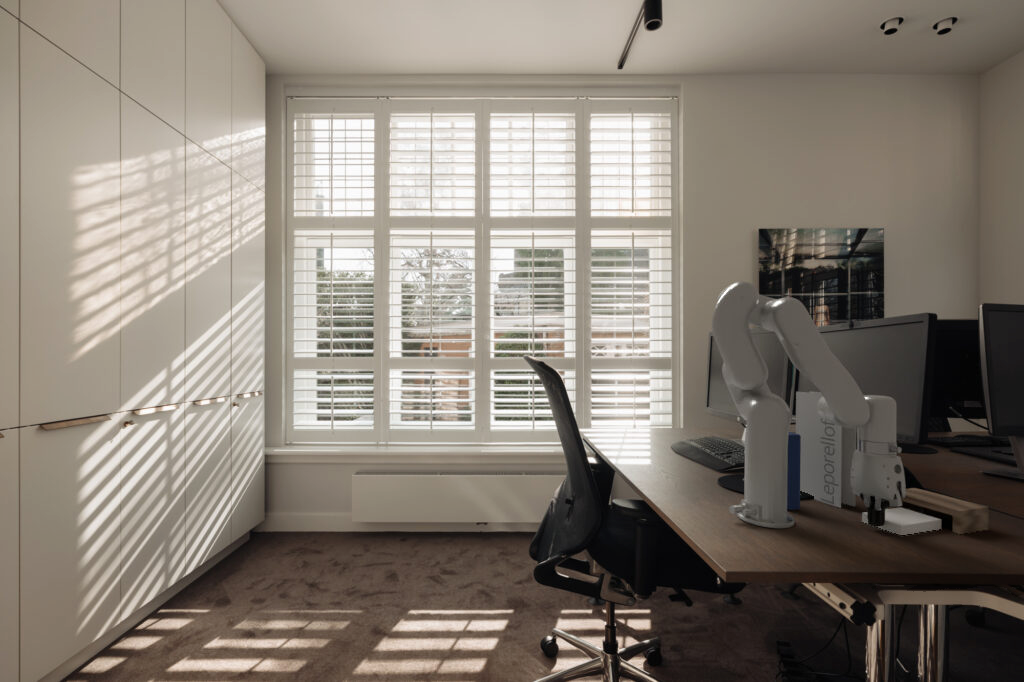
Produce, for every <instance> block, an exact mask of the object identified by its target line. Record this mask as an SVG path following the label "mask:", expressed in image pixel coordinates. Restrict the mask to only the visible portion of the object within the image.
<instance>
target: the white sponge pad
mask: <svg viewBox="0 0 1024 682" xmlns="http://www.w3.org/2000/svg"><path fill="white" fill-rule="evenodd" d="M862 522H864V523H863V524H865V523H867V524H866V525H868V518H867V511H866V512H861V523H862ZM879 528H881V529H880V530H882V529H883V530H882V531H885V530H887V531H886V532H888V531H889V532H888V533H891V532H892V533H891V534H894V533H896V534H899V535H906V536H908V535H907V534H912V535H915V534H914V533H918V534H920V533H919V532H924V533H927V532H926V531H930V532H933V531H932V530H936V531H939V529H941V530H942V518H939V517H938V518H937V517H936V516H935V517H934V516H932V515H929V514H928V515H927V514H926V513H925V514H924V513H918V512H915V511H911V510H908V509H905V508H901V507H900V508H893V509H886V510H885V523H884V526H878V528H877V529H879ZM896 534H895V535H896ZM899 535H898V536H899Z"/></svg>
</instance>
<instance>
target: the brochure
mask: <svg viewBox="0 0 1024 682" xmlns="http://www.w3.org/2000/svg"><path fill="white" fill-rule="evenodd" d="M795 392H796V393H795V395H796V396H795V399H796V400H795V434H799V435H800V436H801V461H800V491H802V492H805V493H808V494H810V495H812V496H814V499H813V500H815V501H818V502H820V503H824V504H828V505H829V506H833V507H837V508H838V507H839V509H842V505H846V504H847V505H846V506H851V507H856V495H855V494H854V493H853V492H852V490H853V488H852V486H851V467H852V460H853V455H854V452H855V450H857V428H855V429H849V428H844V427H842V426H839V425H836V424H834V423H831V422H829V421H827V420H825V419H824V418H822V417H821V416H820V414H819V413H818V410H817V403H818V401H819V399H820V398H821V397H823V395H822V394H821V392H820V391H811V390H810V391H809V392H807V391H806V392H805V391H804V392H803V391H795ZM842 503H843V504H842Z"/></svg>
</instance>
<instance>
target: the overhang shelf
mask: <svg viewBox="0 0 1024 682" xmlns="http://www.w3.org/2000/svg"><path fill="white" fill-rule="evenodd" d="M901 501H902V506H890V507H888V509H893V508H900V507H901V508H905V509H908V510H911V511H915V512H918V513H921V514H924V513H925V514H926V515H927V514H928V515H930V514H931V515H930V516H933V517H934V516H935V517H936V518H937V517H938V518H939V519H944V520H947V521H951V522H952V533H953V532H955V533H954V534H956V533H958V534H957V535H959V534H962V535H965V534H964V533H968V534H971V533H970V532H973V533H977V532H976V531H979V532H984V531H983V530H985V531H988V530H989V516H990V515H989V514H990V513H989V512H990V511H989V509H990V508H989V506H987V505H983V504H980V503H979V504H978V503H975V502H971V501H967V500H963V499H960V498H956V497H951V496H948V495H944V494H940V493H936V492H933V491H932V492H931V491H928V490H925V489H920V488H917V487H910V488H906V495H905V498H902V499H901ZM923 512H924V513H923Z"/></svg>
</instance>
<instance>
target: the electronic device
mask: <svg viewBox="0 0 1024 682" xmlns="http://www.w3.org/2000/svg"><path fill="white" fill-rule="evenodd" d="M800 461H801V436H800V435H799V434H796V432H791V431H789V437H788V473H787V511H797V510H798V511H799V510H800V508H801V494H800Z"/></svg>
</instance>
